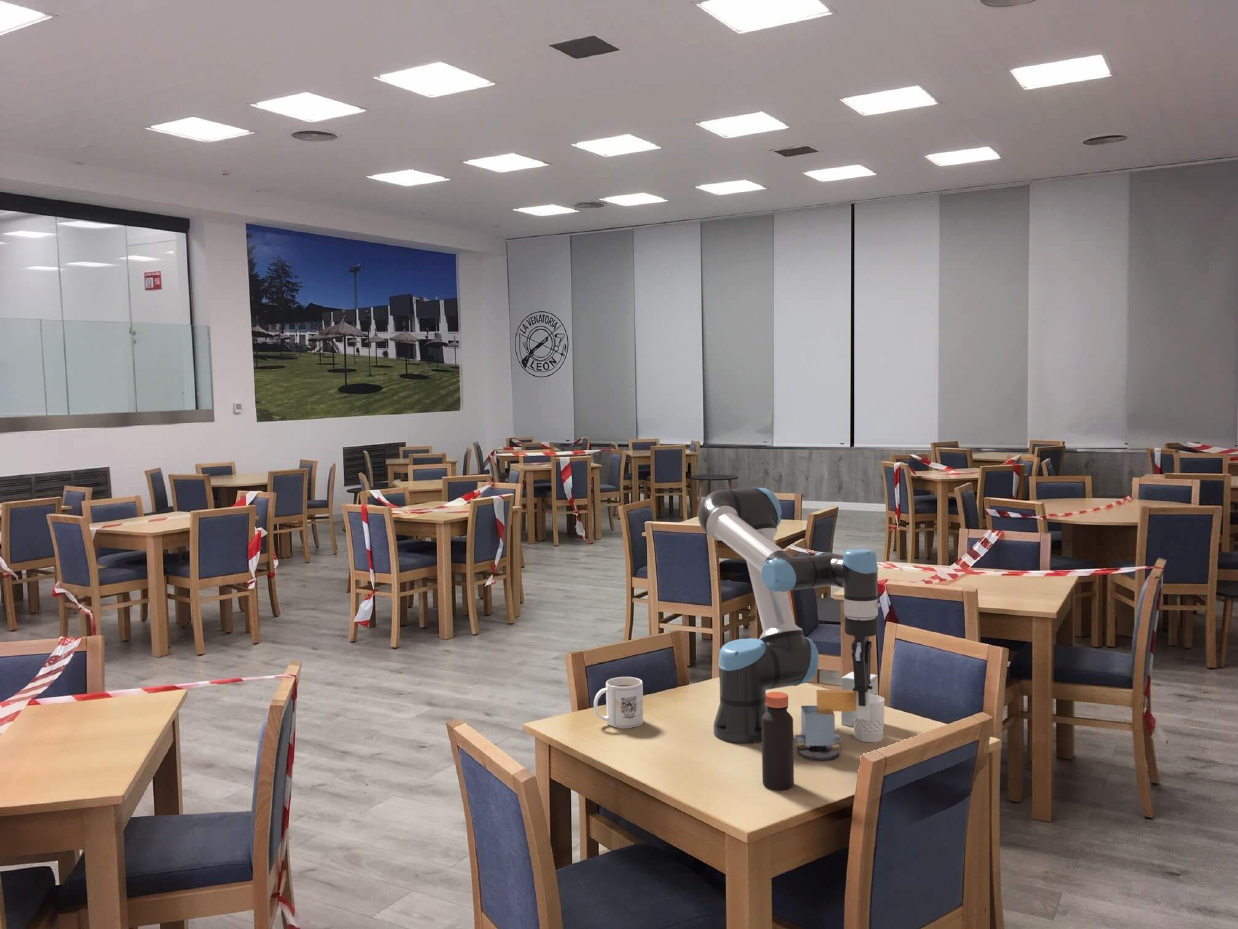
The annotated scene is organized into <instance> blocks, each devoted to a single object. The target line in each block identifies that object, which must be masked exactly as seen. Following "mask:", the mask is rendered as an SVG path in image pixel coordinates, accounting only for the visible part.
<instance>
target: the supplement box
mask: <svg viewBox="0 0 1238 929" xmlns="http://www.w3.org/2000/svg"><path fill="white" fill-rule="evenodd" d="M840 680H841V681H840V685H841V686H840V690H853V688H854V687H855V685H854V671H851V672H848V673H847V674H846V675H843V676H842V677H841V678H840ZM870 681H871V683H870V684H869V686H873V687H872V689H868V690H869V694H873V695H878V674H873V673H870ZM878 696H879V695H878ZM840 716H841V717H840V718H841V722H840V723H841V725H844V726H847V727H854V722H853V711H840Z"/></svg>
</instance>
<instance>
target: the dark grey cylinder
mask: <svg viewBox="0 0 1238 929" xmlns="http://www.w3.org/2000/svg"><path fill="white" fill-rule="evenodd" d="M840 749H841V748H840V745H839V744H837V743H835V746H806V745H805V743H804V742H797V744H796V754H797V755H798V757H800V758H803V759H804V760H810V761H815V762H816V761H819V762H826V761H827V762H828V761H834V760H835V759H838V758H839V757H840V752H841V750H840Z"/></svg>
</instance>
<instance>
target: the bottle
mask: <svg viewBox="0 0 1238 929" xmlns="http://www.w3.org/2000/svg"><path fill="white" fill-rule="evenodd" d="M765 696H766V707H767V711H766V712H765V713H764V714H763V716H762V741H761V764H762V765H761V768H762V769H761V770H762V772H761V774H762V785H763V787H765V788H766V789H770V790H772V791H785V790H786V791H787V790H789V789H791V788H793V787H794V785H795V774H794V773H795V770H794V767H795V766H794V765H795V764H794V762H795V761H794V755H795V754H794V718H793V717H792V715H791V713H789V712H788V708H789V694H787V693H786V692H781V691H771V692H766V695H765Z"/></svg>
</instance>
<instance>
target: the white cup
mask: <svg viewBox="0 0 1238 929" xmlns="http://www.w3.org/2000/svg"><path fill="white" fill-rule="evenodd" d="M885 700H886V699H885V698H884V697H883V696H881V695H873V694H869V708H870V718H869V720H864V719H857V711H853V722H854V728H853V729H854V738H855V739H856V740H858V741H860V742H864V743H877V742H880V741H882V740H883V737H884V727H885V726H884V724H885V705H886V704H885V703H886V701H885Z"/></svg>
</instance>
